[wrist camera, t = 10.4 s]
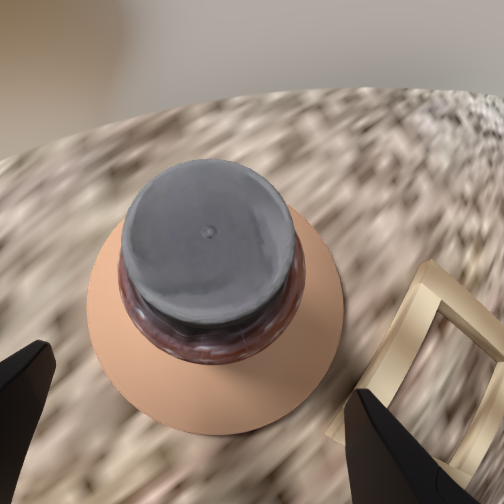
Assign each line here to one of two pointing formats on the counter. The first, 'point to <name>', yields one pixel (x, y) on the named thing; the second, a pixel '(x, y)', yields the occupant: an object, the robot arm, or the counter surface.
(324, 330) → the terracotta pad
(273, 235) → the supplement bottle
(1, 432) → the robot arm
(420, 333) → the birch collar
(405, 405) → the counter surface
